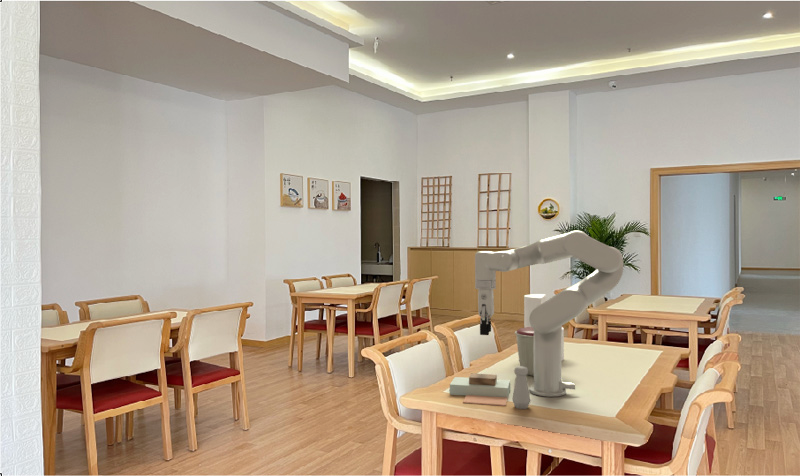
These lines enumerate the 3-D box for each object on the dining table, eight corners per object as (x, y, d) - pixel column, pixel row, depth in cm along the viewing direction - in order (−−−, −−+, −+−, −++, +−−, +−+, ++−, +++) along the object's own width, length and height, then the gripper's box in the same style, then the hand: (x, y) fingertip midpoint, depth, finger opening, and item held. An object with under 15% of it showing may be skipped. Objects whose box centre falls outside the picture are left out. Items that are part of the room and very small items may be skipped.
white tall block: (521, 360, 252) (521, 297, 252) (527, 353, 268) (527, 293, 268) (562, 363, 246) (561, 298, 246) (565, 355, 262) (565, 294, 262)
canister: (522, 366, 241) (522, 316, 241) (566, 371, 232) (565, 319, 232) (508, 375, 226) (508, 322, 225) (554, 381, 216) (554, 326, 216)
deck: (510, 389, 205) (510, 380, 205) (507, 398, 194) (507, 388, 194) (454, 386, 210) (454, 376, 210) (449, 394, 200) (449, 384, 200)
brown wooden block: (496, 381, 203) (496, 374, 203) (495, 385, 198) (494, 378, 198) (471, 379, 206) (471, 373, 206) (469, 384, 200) (469, 377, 200)
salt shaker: (533, 409, 182) (533, 368, 182) (517, 410, 181) (517, 369, 181) (524, 403, 188) (524, 364, 188) (509, 405, 186) (509, 365, 186)
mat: (507, 398, 194) (507, 397, 194) (505, 406, 186) (505, 404, 186) (466, 395, 198) (466, 394, 198) (462, 403, 189) (462, 401, 189)
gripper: (493, 286, 201) (493, 337, 201) (497, 282, 218) (498, 329, 218) (472, 286, 203) (472, 336, 203) (478, 282, 219) (478, 329, 220)
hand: (485, 332), depth 210 cm, fingers open, 6 cm apart
